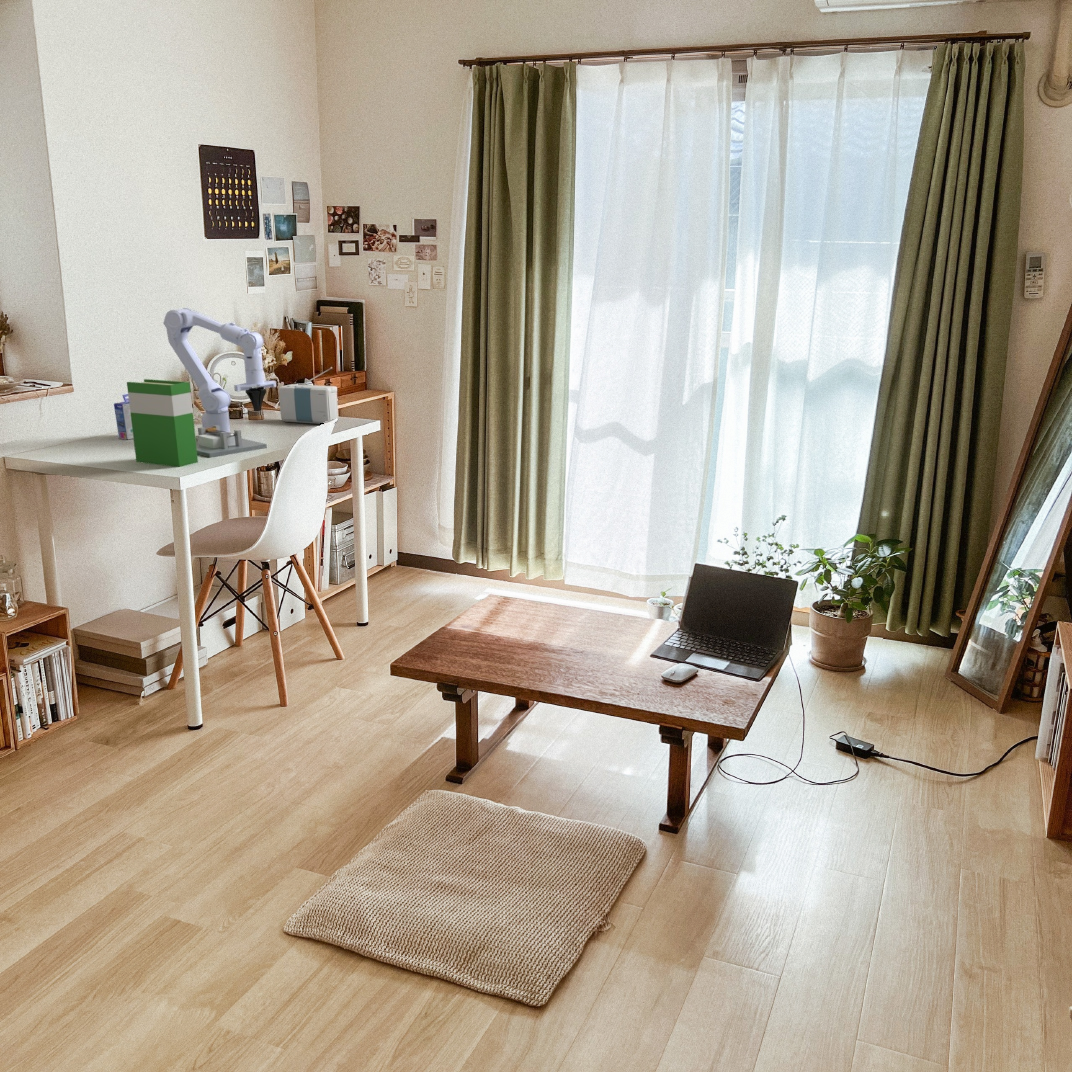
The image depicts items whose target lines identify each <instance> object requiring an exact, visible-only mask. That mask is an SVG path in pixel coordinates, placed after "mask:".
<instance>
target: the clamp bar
mask: <svg viewBox="0 0 1072 1072" xmlns="http://www.w3.org/2000/svg"><path fill="white" fill-rule="evenodd" d="M205 430H206V433H211V434H216V435H220V432H225V431H220V430H216V428H214V427H211V428H205ZM230 432H231V431H230ZM230 432H226V433H227V437H233V436H236V433H234V432H232V433H230Z"/></svg>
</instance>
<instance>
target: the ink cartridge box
mask: <svg viewBox="0 0 1072 1072" xmlns="http://www.w3.org/2000/svg"><path fill="white" fill-rule="evenodd" d="M121 397H122V399H123V401H121V402H114V403H113V407H114V414H115V420H116V427H117V433H118V439H119V438H121V440H125V439H128V440H132V439H133V440H134V438H133V430H132V422H131V413H130V405H129V397H128V393H127V394H122V396H121ZM126 397H128V398H126Z"/></svg>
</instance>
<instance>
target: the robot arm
mask: <svg viewBox="0 0 1072 1072" xmlns="http://www.w3.org/2000/svg"><path fill="white" fill-rule="evenodd" d="M162 323H163V325H164V327H165V329H166V333H167V334H166V335H167V340H168V343H169V345H170V346H171V348H172V350H173V351H174V353H175V354H176V356H177V358H178V359H179V360H180V362H181V363H182V365H183V367H184V368H185V370H186V371H187V373H188V374H189V376H190V378H191V379H192V380H193V382H194V383H195V385H196V387H197V389H198V392H197V396H198V398H199V400H200V403H201V408H202V409H203V410H204V413H202V416H201V427H204V428H211V427H213V425H219V426H220V430H221V431H227V432H231V426H230V416H229V415H230V413H229V406H230V405H231V403H232V402H231V400H232V399H231V396H230V394H229V392H228V391H226V390H225V389H224V388H223V387H222V386H221V385H220V384H219V383H217V382H216V381H214V380H213V377H212V376H211V375H210V373H209V372H208V370H207V368H206V367H205V366H204V364H203V362H202V361H201V359H200V358H199V356H198V355H197V353H196V352H195V350H194V349H193V347H192V346H191V344H190V343H189V341H188V338H189V334H190V332H191V330H192V329H193V327H194V326H196V327H197V326H198V327H200V328H204V329H206V330H208V331H211V332H214V333H217V334H219V335H220V338H221V339H222V340H223V341H227V342H229V343H231V344H234V345H236V346H238V347H240V349H242V351H243V360H244V371H245V372H244V373H245V383H241V384H234V386H233V388H234V392H237V393H238V392H241V391H242V392H243V391H245V394H246V396H248V399H249V400H250V402H251V406H252V408H253V411H254V412H262V406H263V402H264V398H265V395H266V394H267V388H276V387H277V381H276V380H266V381H265V378H264V377H265V376H264V366H263V365H264V364H263V354H262V353H263V352H262V347H263V346H264V337H263V336H262V334H260V333H259V332H258V331H256V330H255V331H251V332H250V329H248V328H242V327H240V326H238V325H237V323H235V322H233V321H232V322H226V323H222V322H219V321H217V320H215V319H213V318H212V317H209V316H206V315H205V314H203V313H200V312H199V311H197V310H192V309H191V308H187V307H186V308H182V309H172V310H171V309H170V310H168V311H167V312H166V313H165V317H164V319H163V322H162ZM206 434H211V433H206Z"/></svg>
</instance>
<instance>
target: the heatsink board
mask: <svg viewBox="0 0 1072 1072" xmlns="http://www.w3.org/2000/svg"><path fill="white" fill-rule="evenodd" d="M213 427H214V428H216V430H220V426H219V425H213ZM197 431H198V433H197V434H198V435H197V440H196V448H197V455H199V456H202V457H207V458H215V457H220V456H227V455H232V454H238V453H244V452H250V451H256V450H261V449H267V446H268V445H267V443H264V442H259V441H256V440H255V441H254V440H251V439H245V438H242V437H243V436H242V431H241V429H235V430H233V432H232V431H230V433H236V436H233V437H227V433H226V432H227V431H225V432H220V435H216V434H206V430H205V428H204V427H202V426H201V427H197ZM220 431H221V430H220Z"/></svg>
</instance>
